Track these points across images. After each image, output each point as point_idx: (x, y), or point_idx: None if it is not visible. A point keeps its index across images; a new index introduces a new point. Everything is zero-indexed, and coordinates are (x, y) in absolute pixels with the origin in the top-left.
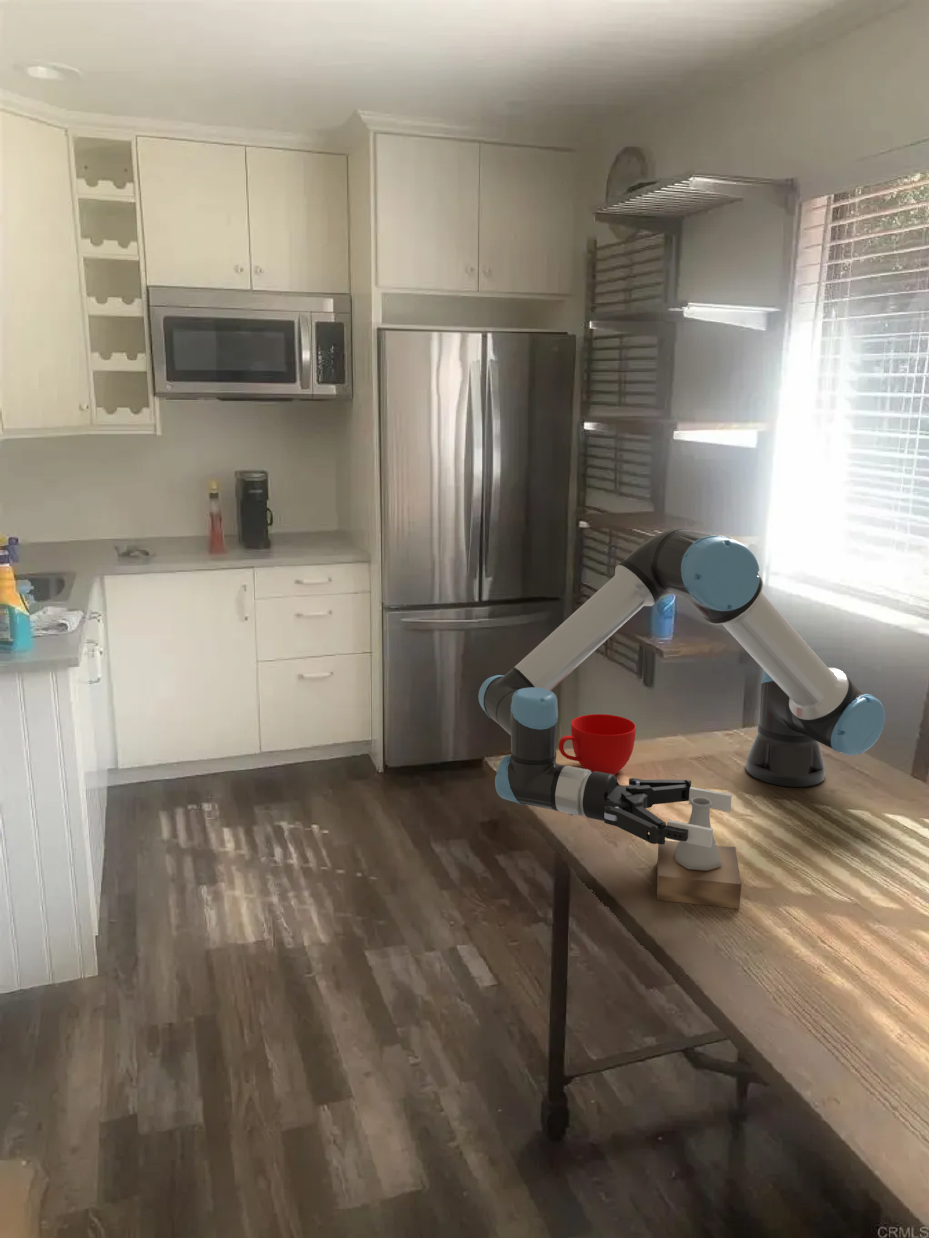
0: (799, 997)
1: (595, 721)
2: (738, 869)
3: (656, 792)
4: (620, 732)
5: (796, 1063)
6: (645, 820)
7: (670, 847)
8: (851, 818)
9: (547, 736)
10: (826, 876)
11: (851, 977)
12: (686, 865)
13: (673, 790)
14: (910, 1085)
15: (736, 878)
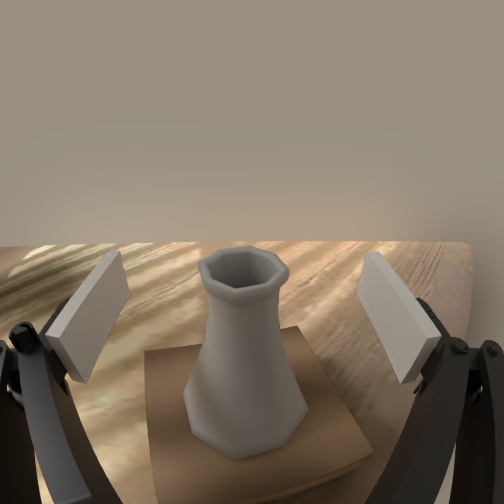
0: (407, 284)
1: None
2: None
3: (91, 485)
4: None
5: (461, 275)
6: (491, 392)
7: (196, 476)
8: (23, 275)
9: None
10: (147, 289)
11: (348, 265)
12: (303, 412)
13: (58, 402)
14: (420, 243)
15: (281, 334)
